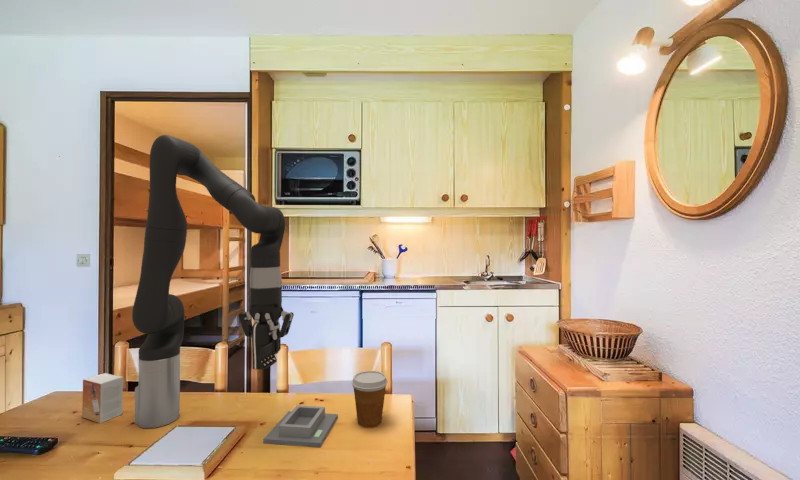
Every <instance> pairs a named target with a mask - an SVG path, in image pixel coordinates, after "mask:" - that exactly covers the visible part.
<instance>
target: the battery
mask: <svg viewBox="0 0 800 480" xmlns="http://www.w3.org/2000/svg"><path fill="white" fill-rule="evenodd" d="M253 324H254V323H253ZM253 324H252V326H253V327H252V338H251V349H252V351H251V352H252V369H253V370H266V369H268V368H270V367H271V366H273V365H275V364H276V363H277V357H276V354H272V340H273V337H272V333H271V331H270V330H269V326H268V323H267V322H256V323H255V324H254V325H253ZM274 326H275V324H274Z"/></svg>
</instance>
